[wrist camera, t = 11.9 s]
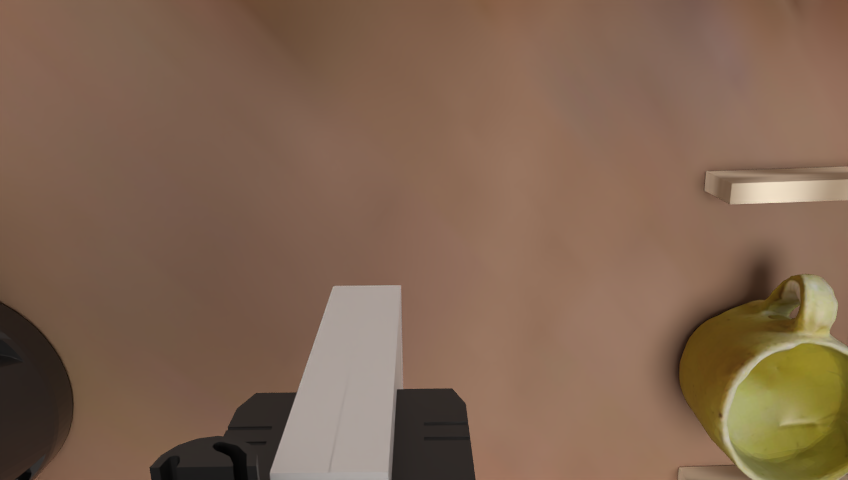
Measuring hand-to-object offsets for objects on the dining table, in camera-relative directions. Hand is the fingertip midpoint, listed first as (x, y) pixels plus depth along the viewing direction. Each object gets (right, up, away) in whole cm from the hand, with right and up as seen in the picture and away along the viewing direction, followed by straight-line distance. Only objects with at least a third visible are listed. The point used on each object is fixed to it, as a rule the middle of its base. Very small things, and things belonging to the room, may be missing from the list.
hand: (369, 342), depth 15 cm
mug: (+22, -4, +29) cm, 37 cm away
